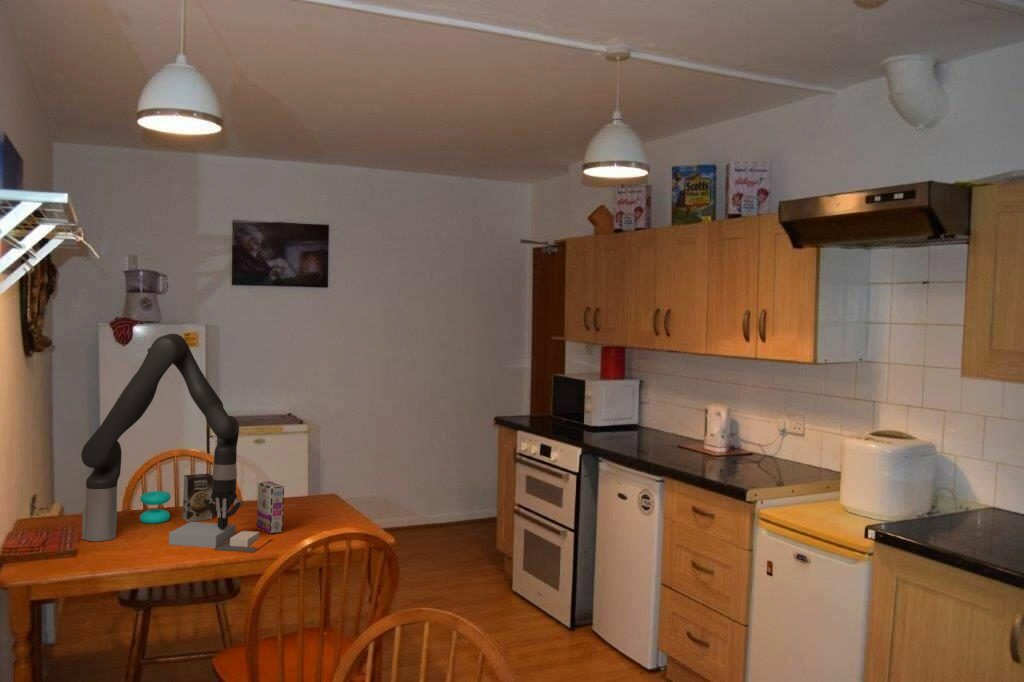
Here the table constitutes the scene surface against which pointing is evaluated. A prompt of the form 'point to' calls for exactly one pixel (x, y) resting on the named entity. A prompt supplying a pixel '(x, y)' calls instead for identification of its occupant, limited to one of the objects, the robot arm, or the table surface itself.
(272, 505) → the candy bar box
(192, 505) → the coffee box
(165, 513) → the donuts
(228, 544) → the mat
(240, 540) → the white rectangular block
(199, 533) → the block
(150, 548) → the table surface
